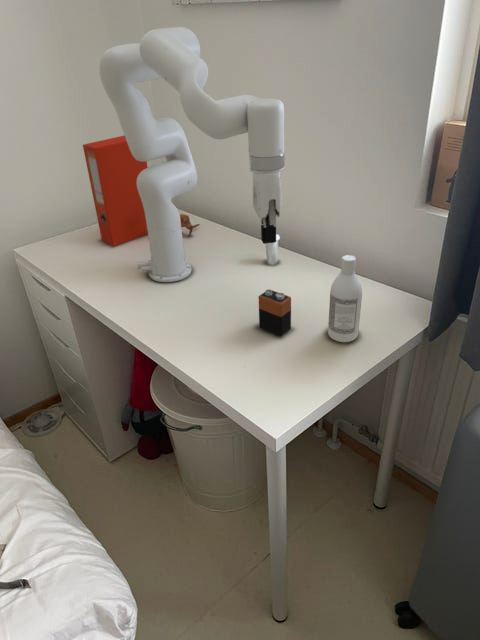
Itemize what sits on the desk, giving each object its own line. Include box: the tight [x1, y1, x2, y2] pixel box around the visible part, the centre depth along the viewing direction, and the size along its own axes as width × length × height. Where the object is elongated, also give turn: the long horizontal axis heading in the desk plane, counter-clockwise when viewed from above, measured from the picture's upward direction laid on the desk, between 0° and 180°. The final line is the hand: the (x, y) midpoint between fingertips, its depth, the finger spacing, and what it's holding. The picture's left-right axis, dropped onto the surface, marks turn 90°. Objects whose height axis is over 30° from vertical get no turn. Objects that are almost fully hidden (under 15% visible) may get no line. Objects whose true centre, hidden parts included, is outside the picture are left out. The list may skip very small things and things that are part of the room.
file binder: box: [82, 134, 149, 247], centre depth 166 cm, size 8×17×32 cm, turn 133°
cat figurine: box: [179, 213, 200, 237], centre depth 168 cm, size 18×7×14 cm, turn 141°
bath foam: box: [327, 254, 363, 343], centre depth 112 cm, size 7×7×20 cm
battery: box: [257, 288, 292, 337], centre depth 119 cm, size 4×7×10 cm, turn 50°
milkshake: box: [264, 233, 281, 266], centre depth 149 cm, size 4×5×10 cm
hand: (268, 241), depth 117 cm, fingers closed
